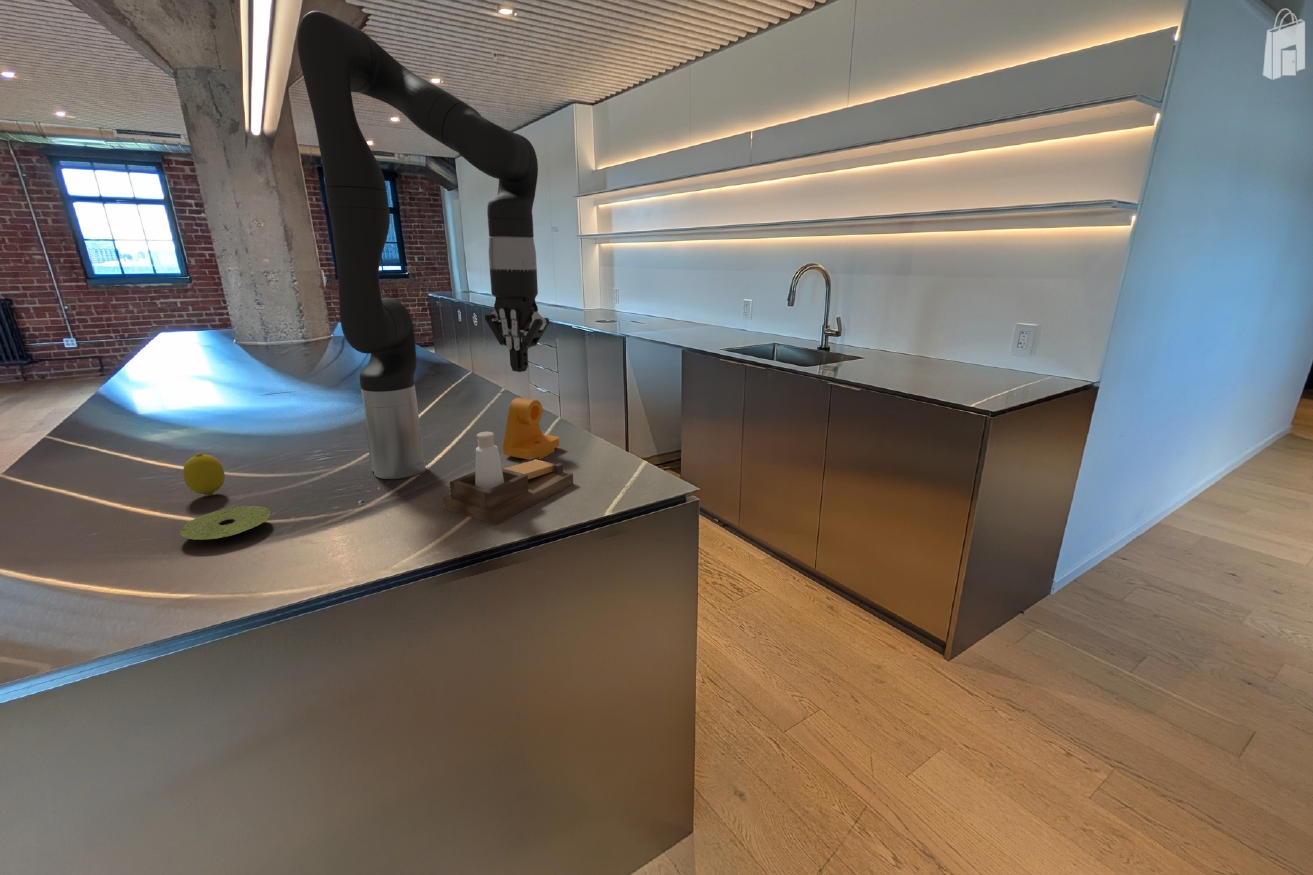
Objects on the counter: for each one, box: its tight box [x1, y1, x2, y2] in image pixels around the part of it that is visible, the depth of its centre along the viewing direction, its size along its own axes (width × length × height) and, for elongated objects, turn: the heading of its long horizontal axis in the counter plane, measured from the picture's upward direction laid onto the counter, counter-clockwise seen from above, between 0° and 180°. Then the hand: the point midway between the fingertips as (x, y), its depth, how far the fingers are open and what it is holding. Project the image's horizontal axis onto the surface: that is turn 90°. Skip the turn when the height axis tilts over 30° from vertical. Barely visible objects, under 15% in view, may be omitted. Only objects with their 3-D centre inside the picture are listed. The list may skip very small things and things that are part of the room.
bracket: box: [502, 397, 560, 460], centre depth 120 cm, size 11×7×12 cm, turn 155°
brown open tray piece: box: [442, 457, 574, 526], centre depth 100 cm, size 12×20×5 cm, turn 150°
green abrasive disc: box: [179, 505, 272, 541], centre depth 86 cm, size 11×11×2 cm
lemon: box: [182, 452, 226, 497], centre depth 98 cm, size 6×6×8 cm
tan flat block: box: [503, 459, 557, 479], centre depth 104 cm, size 5×9×1 cm, turn 150°
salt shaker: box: [475, 431, 504, 490], centre depth 94 cm, size 5×5×11 cm
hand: (519, 370), depth 97 cm, fingers closed
